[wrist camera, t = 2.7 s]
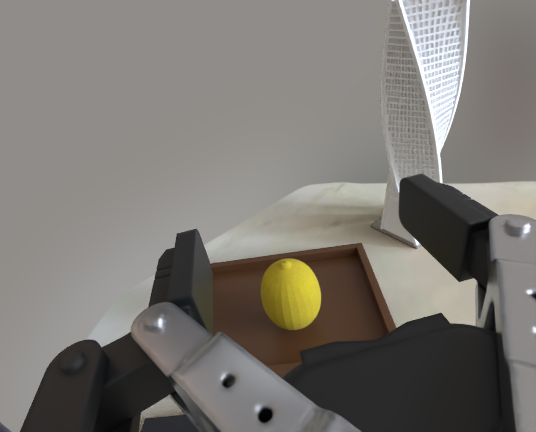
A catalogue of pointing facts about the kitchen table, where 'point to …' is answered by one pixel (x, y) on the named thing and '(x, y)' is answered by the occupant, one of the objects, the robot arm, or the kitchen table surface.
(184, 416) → the plate
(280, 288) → the lemon
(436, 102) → the skyscraper
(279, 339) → the tray
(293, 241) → the kitchen table surface
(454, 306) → the kitchen table surface
